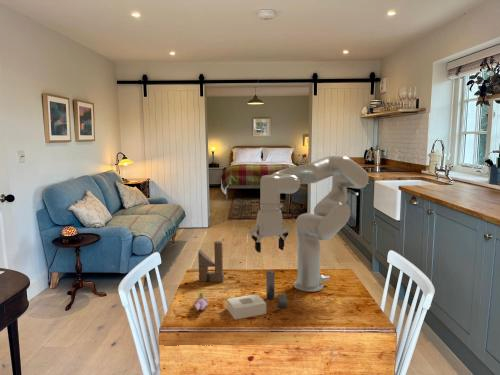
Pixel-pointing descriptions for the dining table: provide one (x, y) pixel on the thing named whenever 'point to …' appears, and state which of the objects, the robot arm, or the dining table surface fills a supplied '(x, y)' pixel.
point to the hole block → (246, 306)
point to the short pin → (282, 301)
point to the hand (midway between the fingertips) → (269, 250)
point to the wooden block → (211, 265)
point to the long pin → (270, 284)
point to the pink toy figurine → (201, 302)
